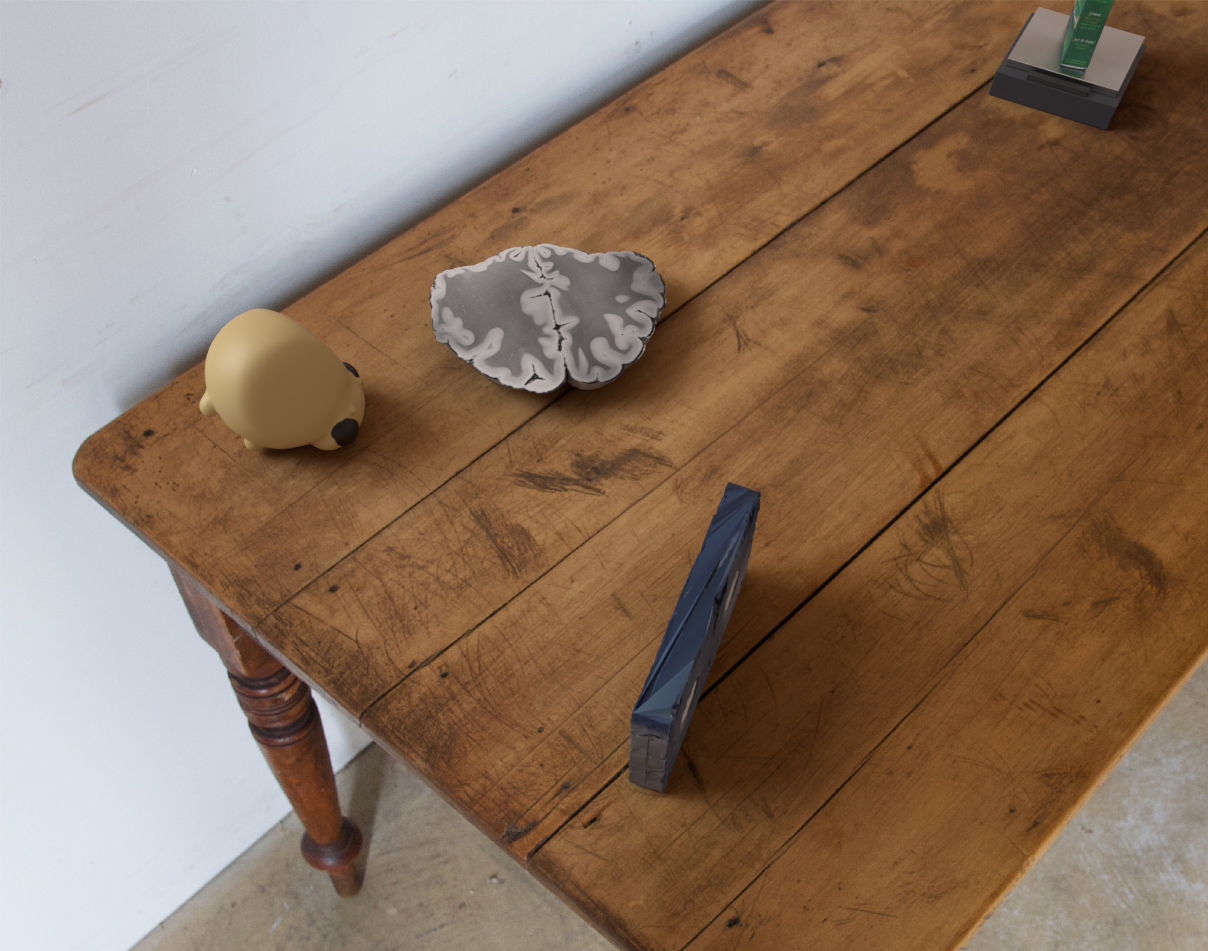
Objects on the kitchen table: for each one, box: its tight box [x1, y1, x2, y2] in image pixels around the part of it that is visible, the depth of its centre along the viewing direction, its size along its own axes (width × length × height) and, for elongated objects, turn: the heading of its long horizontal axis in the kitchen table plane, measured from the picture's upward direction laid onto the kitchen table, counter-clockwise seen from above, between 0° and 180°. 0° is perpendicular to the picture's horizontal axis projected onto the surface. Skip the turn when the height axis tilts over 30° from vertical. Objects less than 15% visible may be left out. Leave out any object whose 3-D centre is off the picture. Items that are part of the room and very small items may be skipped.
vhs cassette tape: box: [628, 482, 762, 794], centre depth 72 cm, size 18×3×10 cm, turn 157°
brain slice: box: [428, 242, 667, 394], centre depth 92 cm, size 20×17×3 cm
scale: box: [988, 6, 1148, 131], centre depth 112 cm, size 12×12×3 cm
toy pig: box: [199, 307, 366, 452], centre depth 84 cm, size 10×12×11 cm
